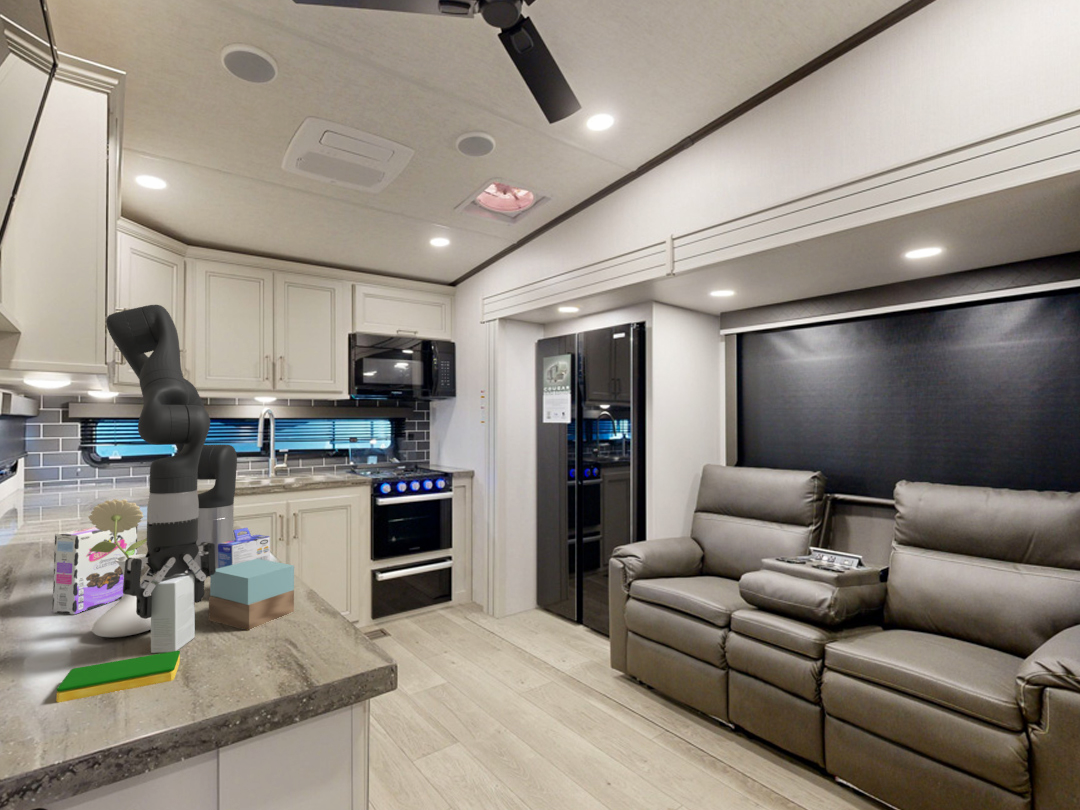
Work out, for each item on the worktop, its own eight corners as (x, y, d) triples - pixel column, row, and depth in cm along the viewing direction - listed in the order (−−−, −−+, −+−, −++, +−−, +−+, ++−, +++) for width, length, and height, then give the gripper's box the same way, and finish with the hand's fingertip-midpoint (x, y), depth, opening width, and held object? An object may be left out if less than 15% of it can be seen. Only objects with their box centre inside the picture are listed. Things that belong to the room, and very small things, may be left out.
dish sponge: (173, 683, 81) (173, 667, 81) (55, 706, 75) (55, 688, 75) (180, 664, 88) (180, 649, 88) (71, 683, 81) (71, 667, 81)
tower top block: (257, 581, 115) (257, 558, 115) (293, 589, 110) (294, 565, 110) (210, 595, 106) (210, 570, 107) (247, 604, 101) (248, 578, 101)
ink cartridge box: (255, 584, 128) (256, 524, 129) (271, 587, 126) (272, 526, 126) (216, 597, 119) (216, 532, 120) (232, 600, 117) (233, 534, 117)
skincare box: (170, 639, 97) (171, 572, 97) (195, 638, 97) (195, 572, 97) (148, 653, 91) (149, 583, 91) (175, 652, 91) (176, 582, 91)
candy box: (74, 615, 108) (75, 534, 109) (51, 613, 110) (52, 533, 110) (137, 593, 122) (138, 521, 122) (116, 592, 123) (118, 520, 124)
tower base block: (254, 605, 115) (254, 582, 115) (293, 614, 110) (293, 589, 110) (208, 621, 106) (209, 596, 106) (249, 631, 101) (249, 605, 101)
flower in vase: (179, 617, 107) (180, 493, 108) (147, 641, 96) (149, 502, 96) (106, 622, 105) (108, 495, 105) (65, 646, 94) (67, 504, 94)
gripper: (199, 509, 102) (198, 594, 102) (115, 522, 89) (113, 620, 89) (225, 512, 99) (224, 600, 99) (142, 525, 86) (139, 627, 86)
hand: (171, 609), depth 94 cm, fingers open, 8 cm apart
